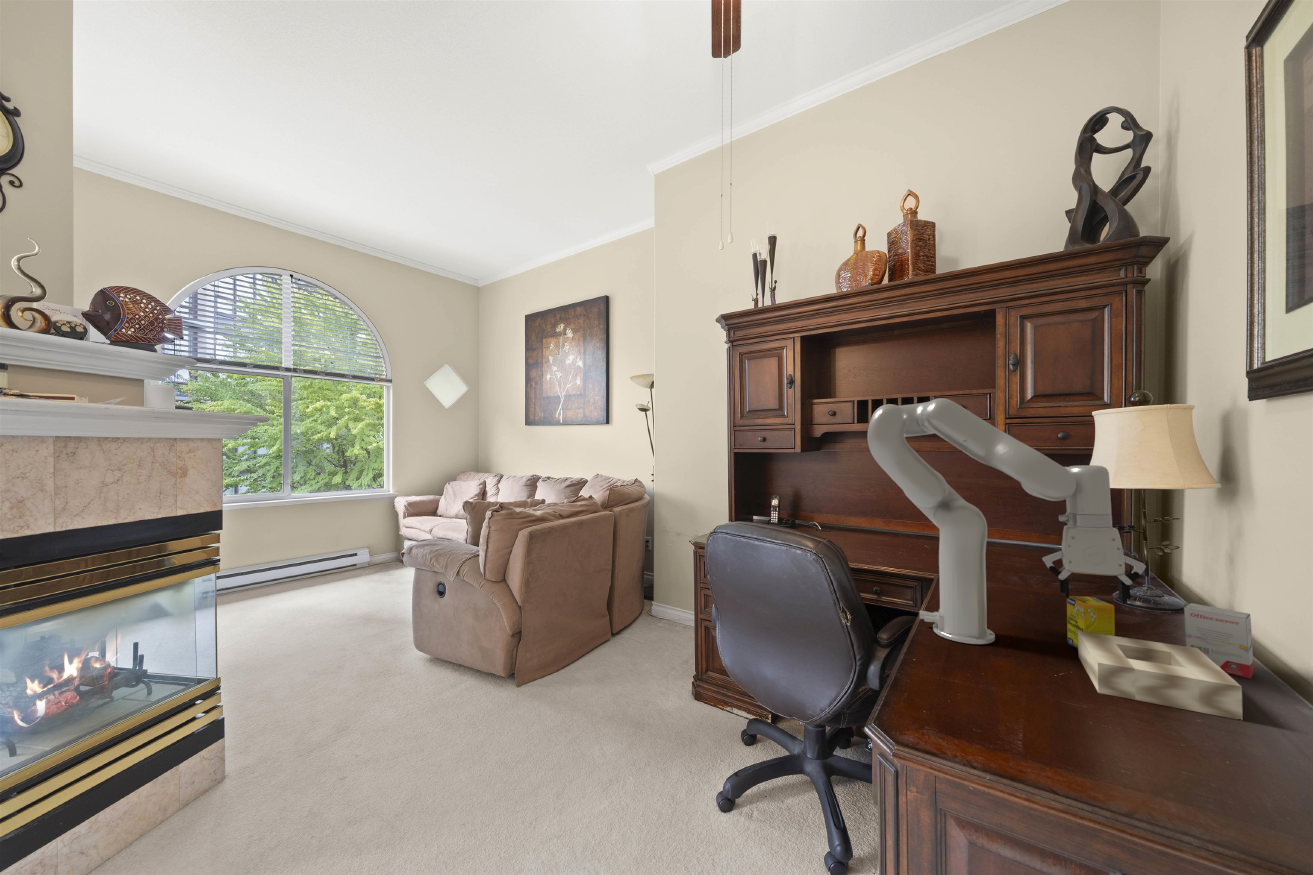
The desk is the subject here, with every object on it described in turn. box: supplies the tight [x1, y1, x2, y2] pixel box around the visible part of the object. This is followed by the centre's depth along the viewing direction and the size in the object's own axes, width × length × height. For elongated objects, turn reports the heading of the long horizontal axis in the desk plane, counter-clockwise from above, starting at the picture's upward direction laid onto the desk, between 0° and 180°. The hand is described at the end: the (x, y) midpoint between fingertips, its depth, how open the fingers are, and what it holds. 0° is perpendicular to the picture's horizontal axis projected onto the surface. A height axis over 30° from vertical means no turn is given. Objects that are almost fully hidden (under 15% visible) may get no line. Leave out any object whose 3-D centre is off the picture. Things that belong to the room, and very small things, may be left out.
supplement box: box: [1066, 595, 1116, 650], centre depth 110 cm, size 6×6×11 cm
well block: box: [1077, 631, 1243, 721], centre depth 94 cm, size 18×18×6 cm
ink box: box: [1183, 602, 1254, 679], centre depth 101 cm, size 9×5×12 cm, turn 33°
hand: (1094, 598), depth 110 cm, fingers open, 9 cm apart
